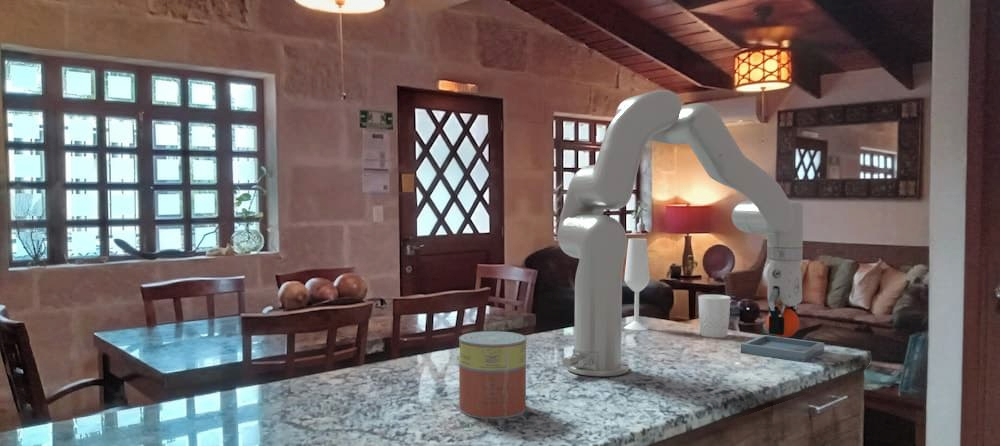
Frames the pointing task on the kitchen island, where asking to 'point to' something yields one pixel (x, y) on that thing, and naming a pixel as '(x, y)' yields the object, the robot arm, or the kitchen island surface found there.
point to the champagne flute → (637, 275)
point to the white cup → (714, 315)
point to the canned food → (492, 374)
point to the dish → (783, 348)
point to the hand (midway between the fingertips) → (783, 331)
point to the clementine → (788, 322)
